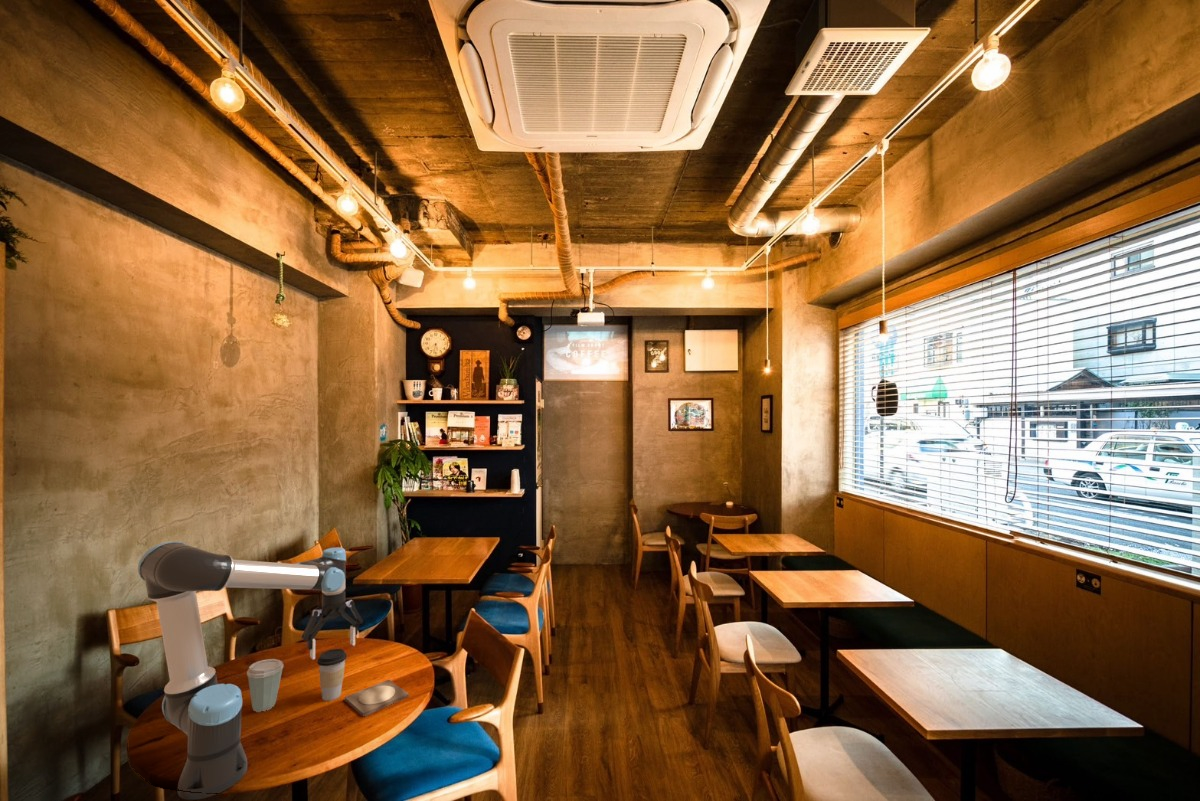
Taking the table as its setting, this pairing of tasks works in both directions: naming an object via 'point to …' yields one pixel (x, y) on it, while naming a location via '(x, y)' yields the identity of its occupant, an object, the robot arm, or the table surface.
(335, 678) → the coffee cup
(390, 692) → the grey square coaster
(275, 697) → the disposable coffee cup
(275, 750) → the table surface
